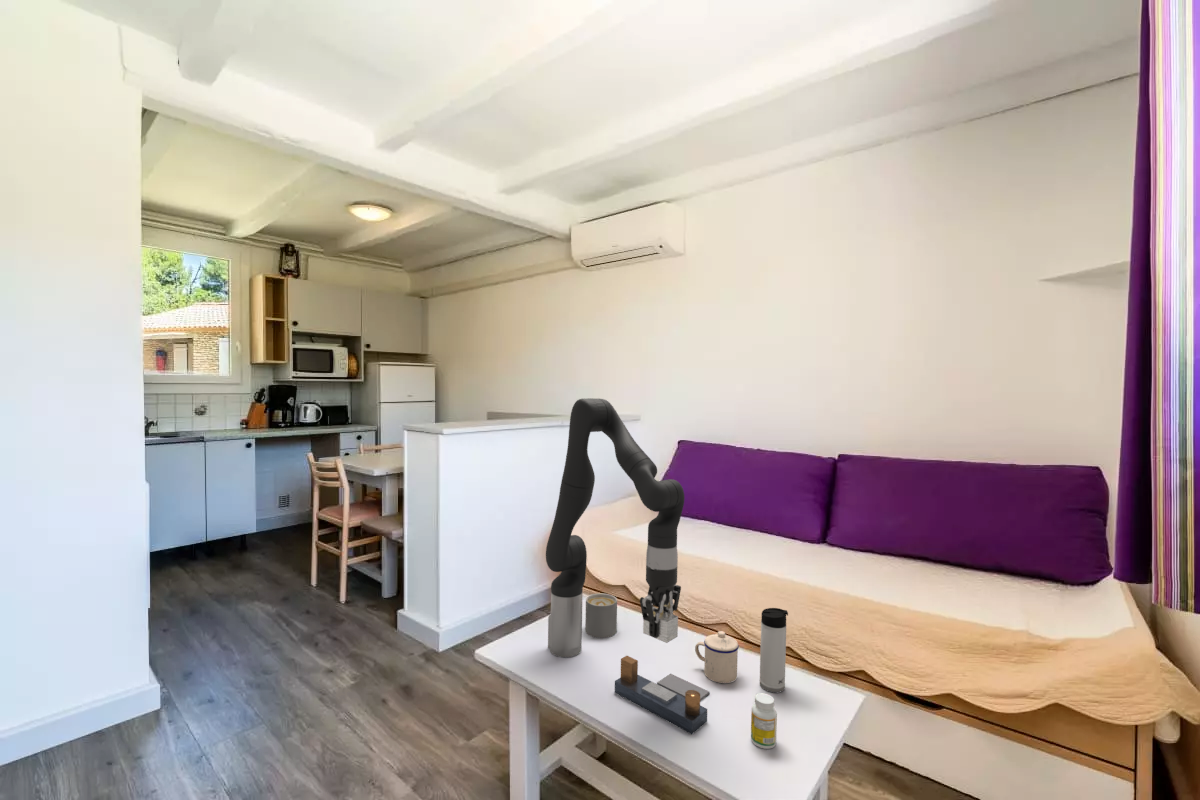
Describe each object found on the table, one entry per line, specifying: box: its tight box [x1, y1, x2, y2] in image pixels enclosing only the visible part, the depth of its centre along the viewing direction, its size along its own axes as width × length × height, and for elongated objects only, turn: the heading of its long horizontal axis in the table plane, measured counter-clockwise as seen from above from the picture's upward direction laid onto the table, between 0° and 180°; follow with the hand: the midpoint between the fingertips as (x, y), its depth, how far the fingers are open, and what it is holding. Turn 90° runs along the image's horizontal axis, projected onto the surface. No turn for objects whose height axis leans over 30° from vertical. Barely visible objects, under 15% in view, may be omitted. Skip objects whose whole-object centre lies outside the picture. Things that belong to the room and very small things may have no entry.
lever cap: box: [642, 610, 679, 644], centre depth 127 cm, size 7×4×6 cm, turn 47°
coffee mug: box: [584, 592, 618, 639], centre depth 168 cm, size 13×10×10 cm
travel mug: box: [759, 607, 789, 693], centre depth 137 cm, size 6×7×20 cm
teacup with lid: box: [694, 630, 740, 684], centre depth 143 cm, size 12×9×12 cm
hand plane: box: [614, 655, 708, 735], centre depth 128 cm, size 23×6×8 cm, turn 47°
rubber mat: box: [656, 673, 710, 702], centre depth 135 cm, size 12×6×1 cm, turn 47°
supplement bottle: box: [750, 692, 778, 750], centre depth 116 cm, size 5×5×10 cm
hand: (660, 632), depth 127 cm, fingers closed on lever cap, 4 cm apart
